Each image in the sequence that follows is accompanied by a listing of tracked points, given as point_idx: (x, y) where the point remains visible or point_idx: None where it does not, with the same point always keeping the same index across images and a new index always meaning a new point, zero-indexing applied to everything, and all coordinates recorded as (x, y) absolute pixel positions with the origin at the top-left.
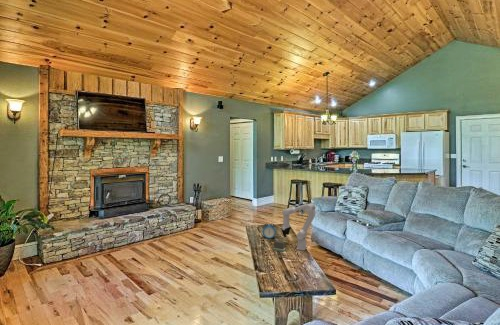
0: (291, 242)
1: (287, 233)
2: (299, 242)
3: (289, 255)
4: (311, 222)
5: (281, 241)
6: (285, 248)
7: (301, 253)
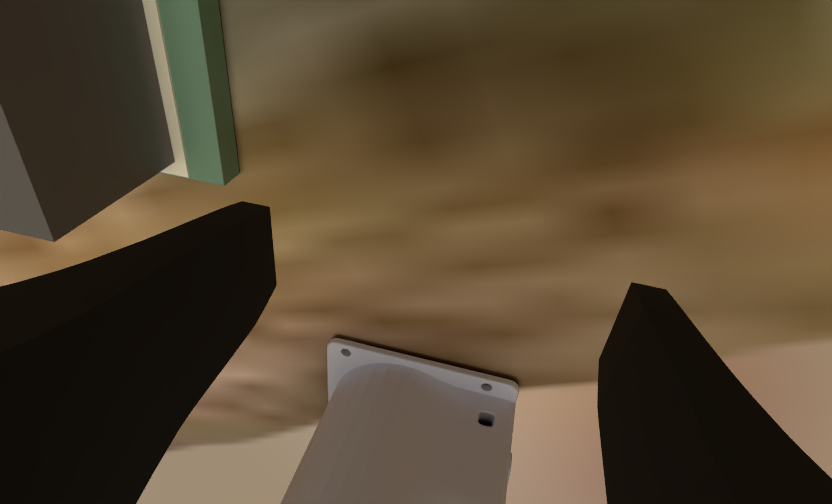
0: (780, 220)
1: (622, 365)
2: (284, 495)
3: (37, 262)
4: None
5: (10, 142)
6: (185, 176)
7: (215, 396)
